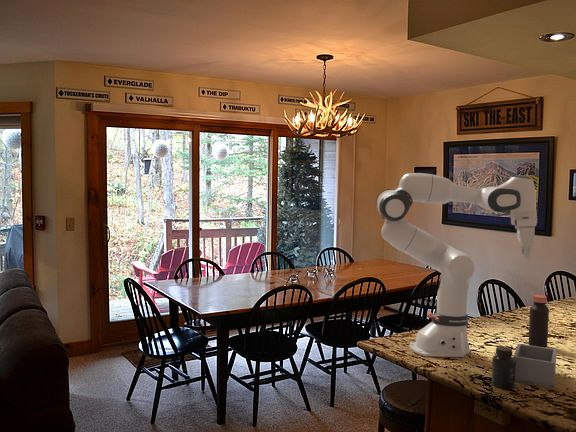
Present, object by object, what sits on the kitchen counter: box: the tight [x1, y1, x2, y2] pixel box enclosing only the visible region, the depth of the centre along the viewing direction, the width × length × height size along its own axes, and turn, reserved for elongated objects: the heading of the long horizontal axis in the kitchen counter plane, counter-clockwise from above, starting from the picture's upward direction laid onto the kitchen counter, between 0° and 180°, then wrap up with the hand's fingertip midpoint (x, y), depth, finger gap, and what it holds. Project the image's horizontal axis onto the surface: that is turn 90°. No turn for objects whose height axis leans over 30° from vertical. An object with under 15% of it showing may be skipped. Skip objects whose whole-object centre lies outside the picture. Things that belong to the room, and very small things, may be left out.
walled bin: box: [512, 343, 557, 389], centre depth 171 cm, size 16×12×8 cm
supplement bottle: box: [491, 346, 516, 390], centre depth 163 cm, size 7×7×12 cm
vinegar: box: [528, 294, 550, 348], centre depth 204 cm, size 7×7×20 cm
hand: (525, 255), depth 193 cm, fingers open, 8 cm apart
